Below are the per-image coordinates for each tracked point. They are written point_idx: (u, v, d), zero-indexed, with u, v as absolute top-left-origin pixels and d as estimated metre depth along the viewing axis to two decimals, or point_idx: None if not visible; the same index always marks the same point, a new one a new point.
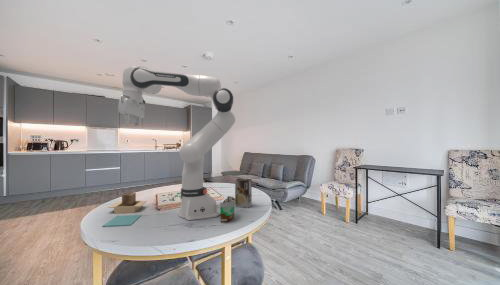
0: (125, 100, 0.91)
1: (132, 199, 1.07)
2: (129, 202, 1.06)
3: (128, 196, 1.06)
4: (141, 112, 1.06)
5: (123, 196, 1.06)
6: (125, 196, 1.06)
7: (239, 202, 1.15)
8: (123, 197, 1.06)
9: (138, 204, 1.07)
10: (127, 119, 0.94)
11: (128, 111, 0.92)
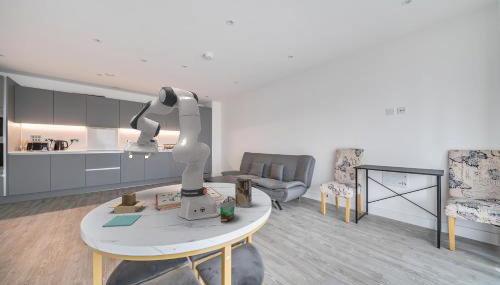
0: None
1: (132, 199, 1.07)
2: (129, 202, 1.06)
3: (128, 196, 1.06)
4: (151, 148, 1.28)
5: (123, 196, 1.06)
6: (125, 196, 1.06)
7: (239, 202, 1.15)
8: (123, 197, 1.06)
9: (138, 204, 1.07)
10: (129, 155, 1.22)
11: (127, 149, 1.23)
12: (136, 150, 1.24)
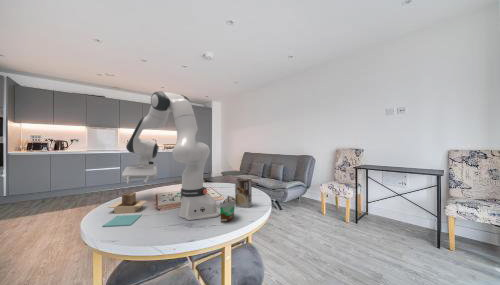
0: None
1: (132, 199, 1.07)
2: (129, 202, 1.06)
3: (128, 196, 1.06)
4: (149, 171, 1.22)
5: (123, 196, 1.06)
6: (125, 196, 1.06)
7: (239, 202, 1.15)
8: (123, 197, 1.06)
9: (138, 204, 1.07)
10: None
11: (125, 174, 1.19)
12: (134, 174, 1.20)
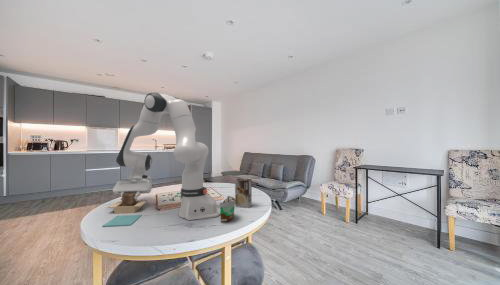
0: None
1: (132, 199, 1.07)
2: (129, 202, 1.06)
3: (128, 196, 1.06)
4: (143, 186, 1.13)
5: (123, 196, 1.06)
6: (125, 196, 1.06)
7: (239, 202, 1.15)
8: (123, 197, 1.06)
9: (138, 204, 1.07)
10: (121, 196, 1.09)
11: (116, 189, 1.10)
12: (126, 189, 1.10)
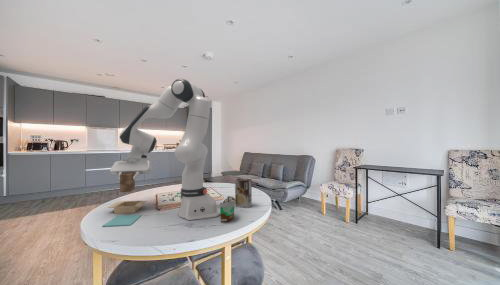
0: None
1: (130, 179, 1.00)
2: (127, 182, 0.99)
3: (126, 175, 0.99)
4: (142, 166, 1.05)
5: (121, 175, 0.99)
6: (123, 175, 0.99)
7: (239, 202, 1.15)
8: (121, 177, 0.98)
9: (138, 204, 1.07)
10: (119, 176, 1.01)
11: (114, 169, 1.02)
12: (124, 169, 1.03)
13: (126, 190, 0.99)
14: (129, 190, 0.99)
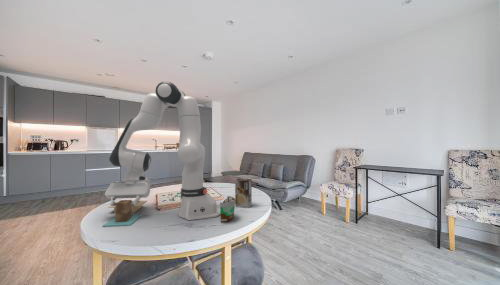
0: None
1: (127, 208, 0.92)
2: (123, 211, 0.91)
3: (122, 204, 0.91)
4: (140, 189, 0.98)
5: (117, 204, 0.91)
6: (119, 204, 0.91)
7: (239, 202, 1.15)
8: (117, 205, 0.91)
9: (138, 204, 1.07)
10: None
11: (109, 193, 0.94)
12: (120, 193, 0.95)
13: (122, 220, 0.91)
14: (125, 220, 0.91)
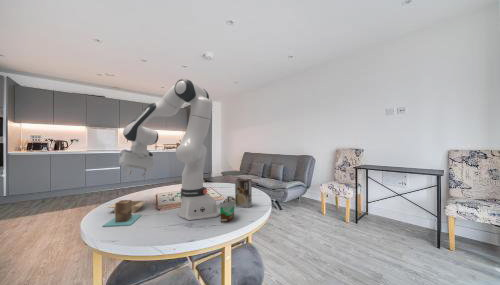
0: (124, 153, 1.06)
1: (127, 208, 0.92)
2: (123, 211, 0.91)
3: (122, 204, 0.91)
4: (149, 163, 1.18)
5: (117, 204, 0.91)
6: (119, 204, 0.91)
7: (239, 202, 1.15)
8: (117, 205, 0.91)
9: (138, 204, 1.07)
10: (127, 169, 1.07)
11: (126, 162, 1.06)
12: (135, 164, 1.10)
13: (122, 220, 0.91)
14: (125, 220, 0.91)
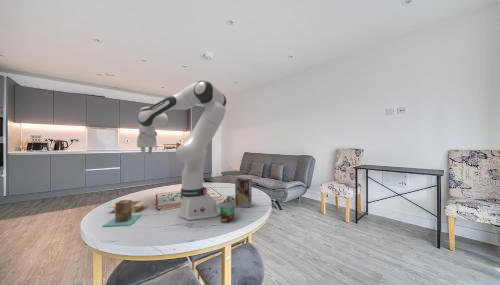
0: (142, 137, 1.12)
1: (127, 208, 0.92)
2: (123, 211, 0.91)
3: (122, 204, 0.91)
4: (153, 142, 1.27)
5: (117, 204, 0.91)
6: (119, 204, 0.91)
7: (239, 202, 1.15)
8: (117, 205, 0.91)
9: (138, 204, 1.07)
10: (143, 151, 1.15)
11: (144, 145, 1.14)
12: (148, 145, 1.19)
13: (122, 220, 0.91)
14: (125, 220, 0.91)
